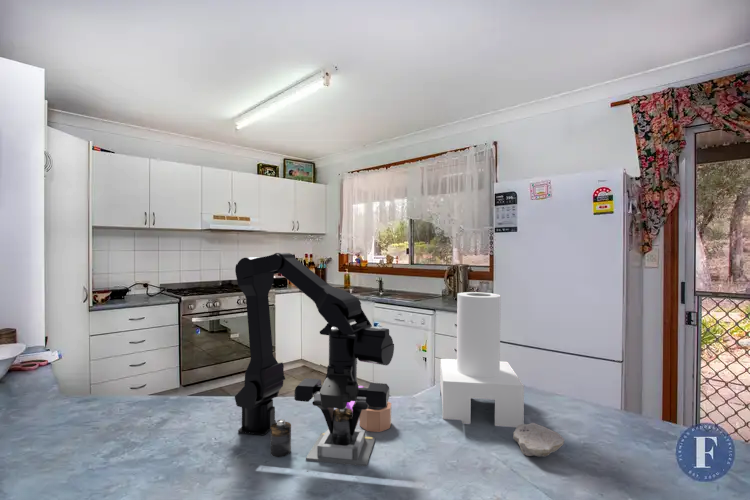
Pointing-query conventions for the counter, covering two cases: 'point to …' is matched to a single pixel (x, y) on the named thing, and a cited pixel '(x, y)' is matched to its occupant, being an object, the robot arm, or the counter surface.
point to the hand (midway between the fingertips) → (342, 433)
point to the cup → (376, 419)
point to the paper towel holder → (480, 365)
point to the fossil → (537, 439)
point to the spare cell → (280, 438)
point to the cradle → (342, 449)
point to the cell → (342, 427)
